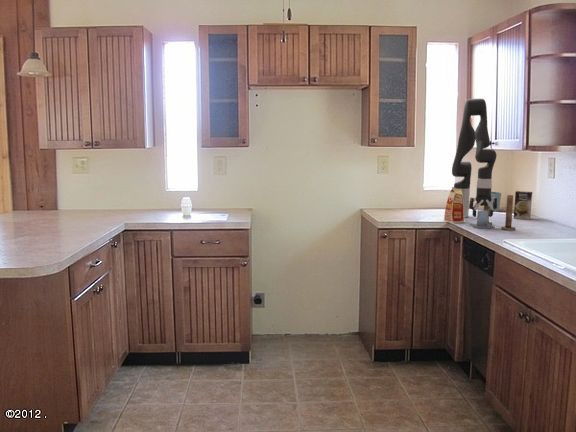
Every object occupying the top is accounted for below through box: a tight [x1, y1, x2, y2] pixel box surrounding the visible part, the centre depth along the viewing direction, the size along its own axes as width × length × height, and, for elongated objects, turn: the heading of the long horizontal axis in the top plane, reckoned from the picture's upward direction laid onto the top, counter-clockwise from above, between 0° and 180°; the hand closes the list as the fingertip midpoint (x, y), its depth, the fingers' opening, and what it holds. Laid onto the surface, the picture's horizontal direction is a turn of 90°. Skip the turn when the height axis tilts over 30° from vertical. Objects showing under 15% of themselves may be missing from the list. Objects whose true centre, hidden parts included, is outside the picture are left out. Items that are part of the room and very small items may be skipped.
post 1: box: [483, 206, 493, 226], centre depth 311 cm, size 7×7×18 cm
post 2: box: [500, 194, 516, 231], centre depth 296 cm, size 7×7×18 cm
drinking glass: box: [489, 191, 502, 213], centre depth 368 cm, size 10×10×12 cm
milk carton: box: [443, 186, 465, 224], centre depth 322 cm, size 9×9×20 cm
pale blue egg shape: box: [476, 209, 488, 226], centre depth 304 cm, size 6×6×8 cm
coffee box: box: [513, 190, 533, 221], centre depth 334 cm, size 9×6×16 cm
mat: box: [469, 223, 495, 229], centre depth 305 cm, size 10×10×1 cm
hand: (482, 216), depth 304 cm, fingers open, 8 cm apart
